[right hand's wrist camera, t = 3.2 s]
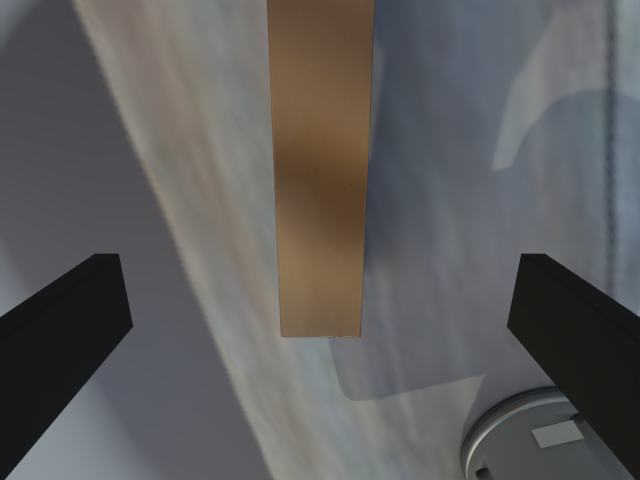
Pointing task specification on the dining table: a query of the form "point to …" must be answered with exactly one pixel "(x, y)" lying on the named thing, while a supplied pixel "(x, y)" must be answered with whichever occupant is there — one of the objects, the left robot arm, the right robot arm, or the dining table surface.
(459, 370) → the dining table surface
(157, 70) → the dining table surface
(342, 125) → the beam
